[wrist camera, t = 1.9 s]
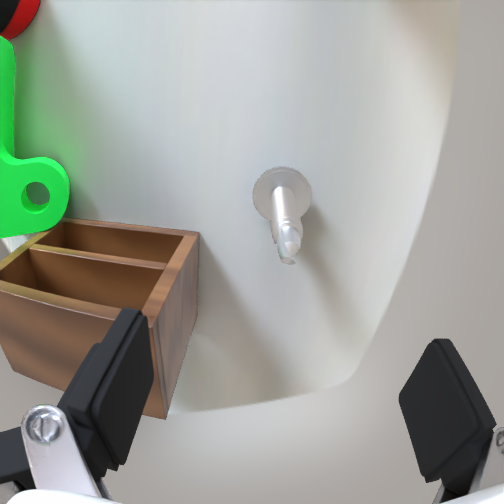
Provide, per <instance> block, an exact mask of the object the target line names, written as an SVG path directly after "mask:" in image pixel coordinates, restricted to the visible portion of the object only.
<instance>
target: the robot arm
mask: <svg viewBox="0 0 504 504" xmlns="http://www.w3.org/2000/svg"><path fill="white" fill-rule="evenodd" d="M153 381H154V368H153V360H152V353H151V344H150V335H149V326H148V318H147V316H144V315H143V313H142V311H141V310H137V309H132V308H127V307H124V308H122V310H121V311H120V313H119V314H118V316H117V317H116V319H115V321H114V322H113V324H112V325H111V327H110V329H109V330H108V332H107V334H106V335H105V337H104V338H103V340H102V342H101V343H95V344H94V345H93V346H92V347H91V349H90V350H89V352H88V354H87V355H86V357H85V358H84V360H83V362H82V363H81V365H80V367H79V368H78V370H77V372H76V373H75V375H74V377H73V379H72V380H71V382H70V384H69V385H68V387H67V389H66V391H65V393H64V394H63V396H62V398H61V400H60V402H59V403H58V405H57V407H56V406H53V405H49V404H41V405H37V406H34V407H32V408H31V409H29V410H28V411H27V412H26V413H25V415H24V416H23V418H22V422H21V426H20V427H17V428H14V429H11V430H7V431H4V432H0V504H123V503H119V502H115V501H114V500H113V498H112V496H111V494H110V492H109V490H108V488H107V486H106V484H105V482H104V480H103V478H102V477H104V476H105V474H106V471H107V468H108V469H111V470H114V471H117V470H118V467H119V464H120V465H124V464H125V462H126V460H127V457H128V454H129V451H130V447H131V444H132V442H133V439H134V436H135V433H136V430H137V427H138V424H139V421H140V418H141V415H142V413H143V410H144V407H145V404H146V401H147V399H148V396H149V393H150V390H151V387H152V385H153ZM399 404H400V407H401V410H402V413H403V416H404V419H405V422H406V425H407V429H408V432H409V435H410V438H411V442H412V445H413V448H414V451H415V455H416V459H417V462H418V466H419V469H420V473H421V475H422V476H424V477H425V481H426V483H429V482H433V481H436V480H439V479H440V478H441V480H442V484H441V486H440V488H439V490H438V493H437V495H436V497H435V499H434V501H433V503H432V504H504V427H500V428H498V429H497V430H496V431H495V432H493V430H492V429H493V428H494V427H495V426H496V425H497V424H496V422H495V419H494V417H493V415H492V414H491V411H490V409H489V407H488V406H487V404H486V402H485V400H484V398H483V396H482V394H481V392H480V390H479V389H478V387H477V385H476V383H475V381H474V379H473V377H472V376H471V374H470V372H469V370H468V369H467V367H466V365H465V363H464V362H463V360H462V358H461V357H460V355H459V353H458V352H457V350H456V348H455V347H454V345H453V343H452V342H451V341H450V340H449V339H434V340H433V341H432V342H431V343H429V344H428V346H427V347H426V349H425V351H424V353H423V355H422V356H421V358H420V360H419V362H418V364H417V365H416V367H415V369H414V371H413V372H412V374H411V376H410V377H409V379H408V381H407V382H406V384H405V386H404V387H403V389H402V390H401V392H400V394H399Z"/></svg>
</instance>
